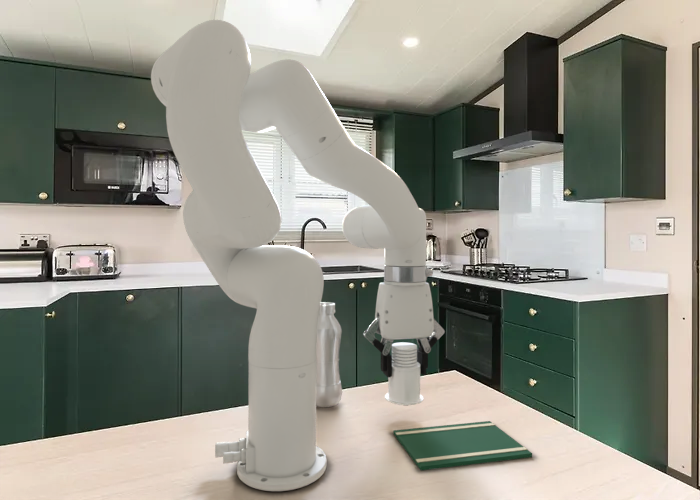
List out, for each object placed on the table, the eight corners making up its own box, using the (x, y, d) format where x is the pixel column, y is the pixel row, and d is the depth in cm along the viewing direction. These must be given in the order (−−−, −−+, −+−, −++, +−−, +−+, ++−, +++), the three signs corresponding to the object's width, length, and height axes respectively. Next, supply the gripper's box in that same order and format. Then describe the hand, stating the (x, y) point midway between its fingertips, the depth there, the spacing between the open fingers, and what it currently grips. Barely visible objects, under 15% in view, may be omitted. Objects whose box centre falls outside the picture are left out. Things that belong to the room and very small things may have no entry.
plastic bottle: (338, 412, 83) (338, 306, 82) (303, 409, 84) (304, 305, 84) (345, 400, 89) (346, 301, 89) (313, 397, 90) (313, 300, 90)
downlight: (426, 408, 77) (427, 351, 76) (386, 407, 77) (386, 351, 77) (419, 391, 85) (420, 340, 84) (383, 391, 85) (383, 340, 84)
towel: (420, 470, 62) (420, 465, 62) (393, 433, 74) (393, 429, 74) (532, 457, 66) (532, 452, 66) (489, 424, 78) (489, 420, 78)
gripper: (439, 273, 86) (439, 364, 86) (353, 274, 82) (353, 370, 82) (457, 276, 78) (456, 376, 79) (364, 278, 74) (364, 384, 75)
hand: (404, 372), depth 81 cm, fingers closed on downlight, 5 cm apart
